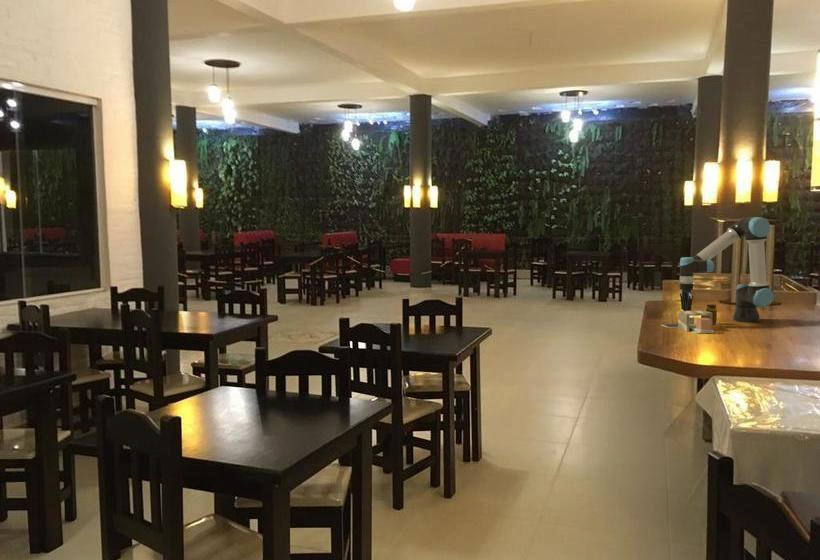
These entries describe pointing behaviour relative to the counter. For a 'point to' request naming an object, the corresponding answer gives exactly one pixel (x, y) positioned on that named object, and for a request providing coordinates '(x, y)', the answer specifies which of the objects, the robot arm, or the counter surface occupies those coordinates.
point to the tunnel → (684, 315)
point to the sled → (701, 325)
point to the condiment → (713, 310)
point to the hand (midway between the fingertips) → (686, 321)
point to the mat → (697, 332)
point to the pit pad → (671, 325)
